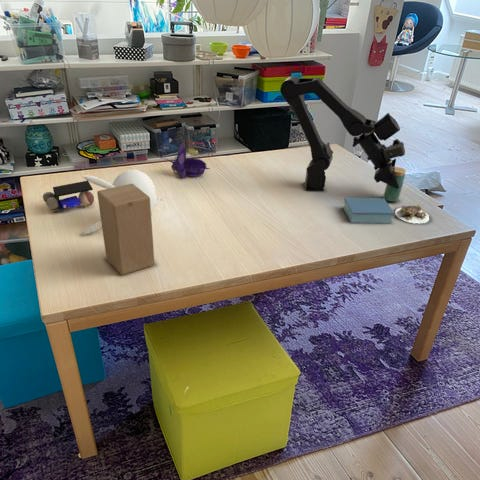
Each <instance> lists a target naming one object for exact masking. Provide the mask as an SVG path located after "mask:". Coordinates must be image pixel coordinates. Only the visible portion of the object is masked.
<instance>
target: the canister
mask: <svg viewBox="0 0 480 480" xmlns="http://www.w3.org/2000/svg"><path fill="white" fill-rule="evenodd" d="M393 168H395V170H394V176H395V178H396V180H397V183H398V185H399V188H398V189H395V188H393V187H392V186H390V185H388V184H386V183H385V188H384V192H383V197H382V198H384V199H385V200H386V201H389V202H398V201H399V200H400V197H401V194H402V190H403V189H402V188H403V185H404V181H405V178H406V172H407V171H406V169H405V168H403V167H401V166H395V167H393Z"/></svg>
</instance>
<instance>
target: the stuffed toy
mask: <svg viewBox="0 0 480 480" xmlns="http://www.w3.org/2000/svg"><path fill="white" fill-rule="evenodd" d="M81 177H82V178H83V179H85V181H88V182H89V183H90V184H93V185H96V186H98V187H101V188H104V189H109V188H114V187H118V186H123V185H128V184H134V185H135V186H136V187H138V188H139V189H140V190H141V191H143V192H144V193H145V194H146V195H148V196H149V197H150V205H151V217H152V215H153V214H154V212H155V210H156V206H157V201H163V197H160V198H157V197H158V194H157V190H156V187H155V184H154V182H153V180H152V179H151V177H149V176H148V175H147V173H145V172H143V171H142V170H138V169H127V170H124V171H123V172H121V173H119V174H118V175H117V176H116V178H114V180H113V181H112V183H110V182H108V181H106V180H104V179H102V178H100V177H98V176H94V175H86V174H85V175H81ZM99 229H102V223H101V219H100V220H99V221H98V222H95V223H94V224H92V225H91V226H90V227H88V228H87V229H86V230H85V231H84V233H82V236H84V235H90V234H93V233H94V232H97V231H98V230H99Z"/></svg>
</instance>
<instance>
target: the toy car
mask: <svg viewBox="0 0 480 480" xmlns="http://www.w3.org/2000/svg"><path fill="white" fill-rule="evenodd" d="M52 191H53V192H51V191H46V192H44V193H43V195H42V199H43V202H45V205H46V207H47V208H48V209H50V210H55V211H54V213H61V212H63V211H64V210H66V209H70V208H75V207H77V206H84V207H90V206H92V205H93V204H94V202H95V196H94V194H93V193H92V192H91V191H93V187H92V184H91V182H89V181H87V180H84V181H79V182H73V183H72V182H71V183H67V184H62V185H56V186H52ZM74 194H78V196H77V195H74ZM69 195H71V196H69ZM64 196H68V197H65V198H60V197H64ZM57 209H58V210H57Z"/></svg>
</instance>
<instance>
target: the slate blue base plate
mask: <svg viewBox="0 0 480 480" xmlns="http://www.w3.org/2000/svg"><path fill="white" fill-rule="evenodd" d="M343 200H344V205H343V210H344V212H345V214H346V216H347V218H348V220H349V222H350V223H351V224H391V223H392V219H393V215H395V211H394V210H393V209H392V208H391V206H390V205H389V203H388V202H387V200H386V199H384V198H383V197H381V198H380V197H344V199H343Z"/></svg>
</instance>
